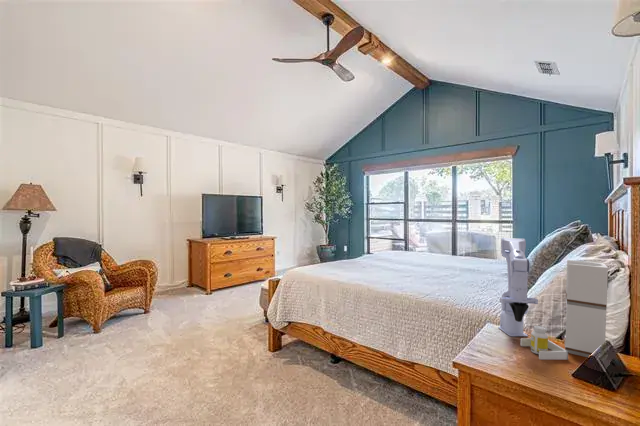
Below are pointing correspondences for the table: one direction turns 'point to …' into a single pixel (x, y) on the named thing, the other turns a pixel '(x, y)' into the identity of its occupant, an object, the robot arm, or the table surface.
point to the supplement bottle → (539, 340)
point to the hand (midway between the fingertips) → (518, 320)
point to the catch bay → (554, 354)
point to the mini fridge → (585, 306)
